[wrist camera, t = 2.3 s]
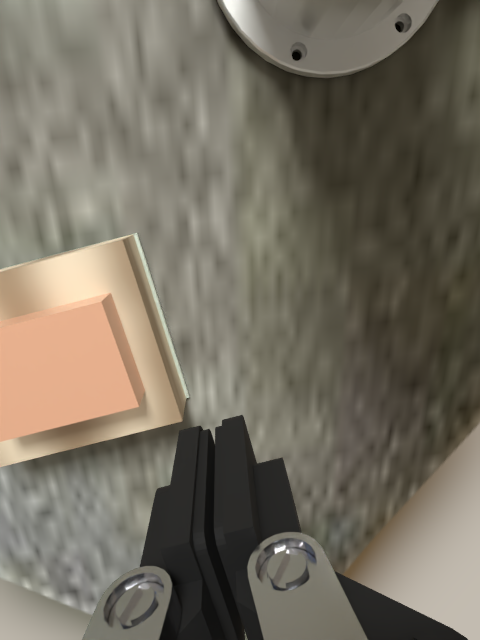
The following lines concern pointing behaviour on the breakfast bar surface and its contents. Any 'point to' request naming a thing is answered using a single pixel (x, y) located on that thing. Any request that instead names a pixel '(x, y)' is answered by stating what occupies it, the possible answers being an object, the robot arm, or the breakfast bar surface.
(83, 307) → the tile
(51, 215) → the breakfast bar surface
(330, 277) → the breakfast bar surface
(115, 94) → the breakfast bar surface
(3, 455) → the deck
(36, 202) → the breakfast bar surface
